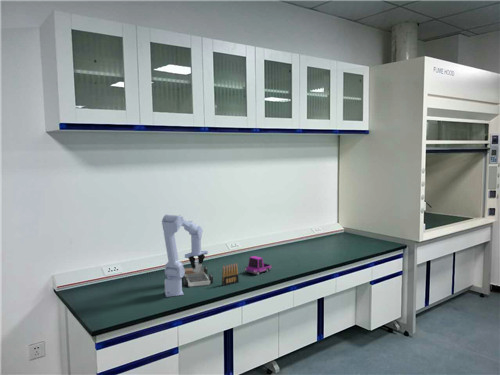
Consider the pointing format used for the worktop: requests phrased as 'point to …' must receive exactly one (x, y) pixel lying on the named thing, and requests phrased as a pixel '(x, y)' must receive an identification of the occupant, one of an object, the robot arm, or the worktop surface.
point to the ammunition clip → (230, 275)
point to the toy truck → (257, 265)
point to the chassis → (197, 278)
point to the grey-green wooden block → (197, 267)
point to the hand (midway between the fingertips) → (196, 267)
